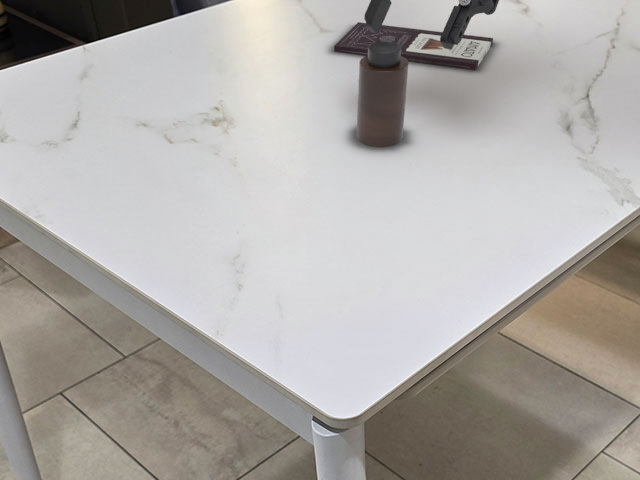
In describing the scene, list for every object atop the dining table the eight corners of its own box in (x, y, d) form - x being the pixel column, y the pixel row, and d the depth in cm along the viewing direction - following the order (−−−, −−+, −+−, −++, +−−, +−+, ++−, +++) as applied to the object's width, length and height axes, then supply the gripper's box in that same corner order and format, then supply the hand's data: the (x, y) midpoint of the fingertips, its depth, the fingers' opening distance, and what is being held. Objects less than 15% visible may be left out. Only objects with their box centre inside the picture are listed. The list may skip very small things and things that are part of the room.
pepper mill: (402, 129, 91) (409, 38, 85) (402, 151, 87) (410, 56, 81) (357, 128, 92) (360, 38, 86) (355, 149, 88) (359, 56, 82)
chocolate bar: (358, 22, 114) (493, 38, 108) (358, 29, 115) (492, 45, 108) (334, 45, 108) (476, 64, 101) (334, 53, 109) (475, 71, 102)
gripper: (399, -138, 87) (335, 6, 87) (532, -125, 80) (462, 33, 80) (419, -94, 94) (360, 41, 94) (545, -78, 86) (480, 68, 87)
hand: (407, 37), depth 87 cm, fingers open, 8 cm apart
